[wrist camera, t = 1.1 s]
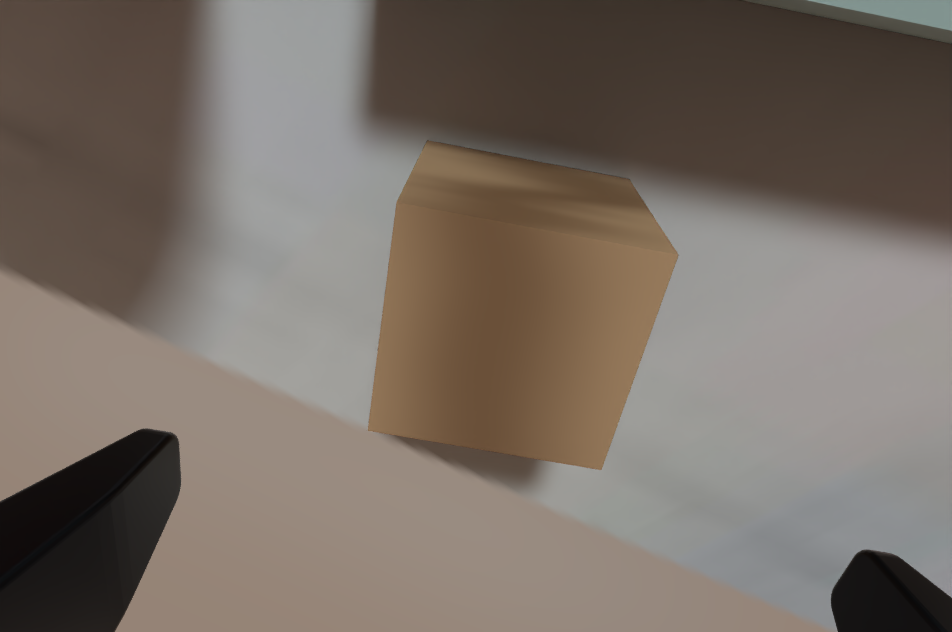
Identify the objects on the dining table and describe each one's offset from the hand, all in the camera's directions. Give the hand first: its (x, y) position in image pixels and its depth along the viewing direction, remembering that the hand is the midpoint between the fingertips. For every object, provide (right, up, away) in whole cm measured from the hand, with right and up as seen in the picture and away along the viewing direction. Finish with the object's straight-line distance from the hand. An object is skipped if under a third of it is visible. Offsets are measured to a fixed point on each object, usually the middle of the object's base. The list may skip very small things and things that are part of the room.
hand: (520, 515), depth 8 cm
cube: (0, +4, +8) cm, 9 cm away
